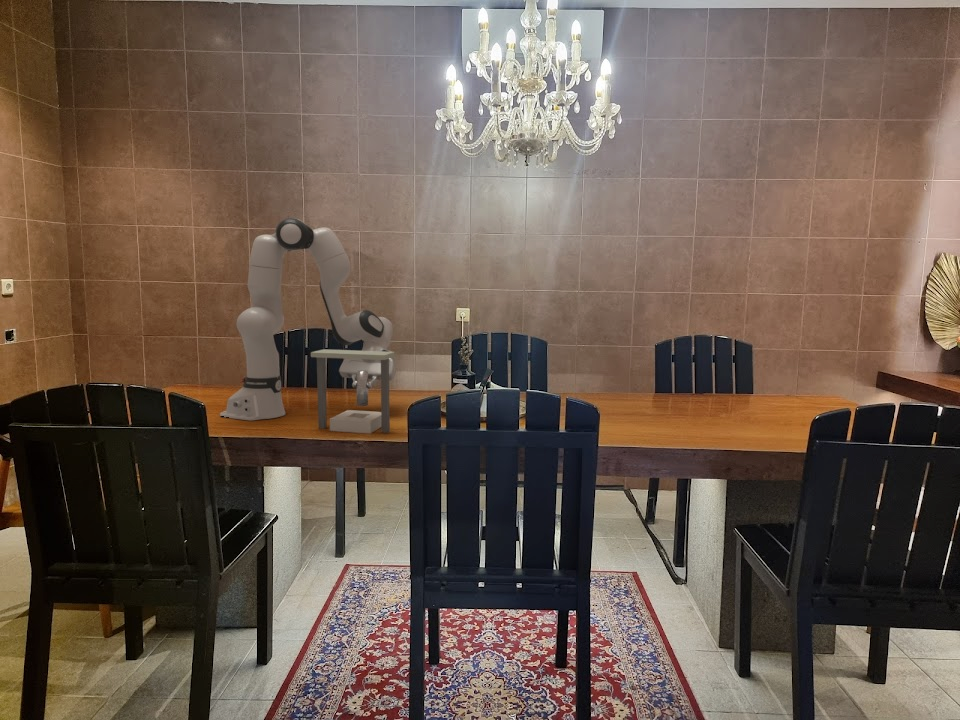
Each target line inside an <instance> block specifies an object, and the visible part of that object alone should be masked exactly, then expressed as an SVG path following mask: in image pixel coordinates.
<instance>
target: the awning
mask: <svg viewBox="0 0 960 720" xmlns="http://www.w3.org/2000/svg"><path fill="white" fill-rule="evenodd" d="M310 357H311V358H316V375H317V376H316V377H317V378H316V381H317V382H316V383H317V418H318V422H317V423H318V424H317V425H318V429H321V430H322V429H323V430H324V429H327V428H328V422H327V421H328V418H327V416H328V414H327V380H326V379H327V376H326V375H327V373H326V369H327V368H326V359H344V358H346V359H371V360H381V380H380V400H381V401H380V404H381V405H380V407H381V408H380V410H381V411H380V412H381V424H382V427H381V434H382V433H383V434H388V433H390V432H391V430H390V429H391V428H390V427H391V424H390V422H391V420H390V416H391V415H390V414H391V413H390V381H389V358H392V357H395V358H396V352H395V351H391V352H383V351H362V350H356V349H355V350H353V349H352V350H350V349H319V350H314V351H311V352H310Z"/></svg>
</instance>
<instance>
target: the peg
mask: <svg viewBox="0 0 960 720" xmlns="http://www.w3.org/2000/svg"><path fill="white" fill-rule="evenodd" d="M356 381H357V388H356V406H358V407H366V406H369V389H368V388H367V383H368V382H369V379H368V371H366V370H359V371H357V380H356Z"/></svg>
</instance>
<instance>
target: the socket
mask: <svg viewBox="0 0 960 720" xmlns="http://www.w3.org/2000/svg"><path fill="white" fill-rule="evenodd" d="M381 428H382V424H381V411H369V410H353V409H346V410H345V411H343V412H341V413H339V414H336V415H334V416H332V417H331V418H329V431H330V432H339V433H341V432H343V433H354V434H356V433H357V434H372V433H374V432H376V431H377V430H379V429H381Z"/></svg>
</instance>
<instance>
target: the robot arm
mask: <svg viewBox="0 0 960 720" xmlns="http://www.w3.org/2000/svg"><path fill="white" fill-rule="evenodd" d="M301 250H307V251H308V252H309V253H310V254H311V256H312V257H313V259H314V262H315V264H316V266H317V268H318V271H319V277H320V280H319V289H320V293H321V297H322V299H323V302H324V306H325V309H326V312H327V315H328V317H329V320H330V324H331V330H332V335H333V337H334V339H335V340H336V342H338V343H340V345H343V346H351V344H352V345H353V344H354V343H356V342H359V341H361V340H362V341H363V342H364V343H363V346H362V349H361V351H383V352H392V351H391V350H389V349H388V348H389V347H390V344H391V342H392V338H393V333H394V332H393V331H394V327H393V323H392V321H390V320H389V318H387V317H384V316H377V315H376V314H375V313H374V312H372V311H371V310H368V309H364V310H361V311H358V312H355V313H353V314H351V315H348V316H347V315H346V313H345V310H344V307H343V305H342V301H341V298H340V295H339V293H340V288H342V287H341V286H342V285H343V284H344V283H345V281H346V280H347V279H348V278H349V276H350V273H351V271H352V270H351V269H352V264H351V262H350V258H349V256H348V254H347V252H346V250H345V248H344V246H343V244H342V243H341V241H340V240H339V238H338V236H337V235H336V233H335V232H334V231H333V230H332V229H331V228H329V227H318V228H315V229H312V228H311V227H309V226H308V225H307V224H306V223H305V222H304V221H303V220H301V219H298V218H294V217H289V218H288V217H287V218H285V219H282V220H281V221H280V222H279V223H278V224H277V225H276V229H275V232H274V233H273V234H267V233H266V234H261V235H258V236H256V237H255V239H254V240H253V244H252V246H251V251H250V254H249V255H250V256H249V264H248V275H247V276H248V277H247V289H248V290H247V291H248V292H249V296H250V303H251V305H250V306H251V307H249V308H247V309H244V311H242V312H241V313H240V314H239V315H238V317H237V319H236V328H237V331H238V332H239V334H240V336H241V339H242V344H243V348H244V351H245V352H244V353H245V360H246V361H245V362H246V376H245V377H244V378H241V379H240V383H243V384H242V387H241V388H240V389H239V390H237V391H236V392H235V393H233V395H231V396H230V397H228V399H227V403H226V410H224V411H221V412H220V413H219V417H220V416H224V417H223V418H226V417H229V418H228V419H237V420H242V421H243V420H244V421H259V420H266V419H267V420H268V419H269V420H270V419H274V418H279V417H280V418H281V417H283V416H285V415H286V414H287V413H286V411H285V408H284V407H285V406H284V403H283V397H282V376H281V375H280V374H281V373H280V353H279V351H278V349H277V346H276V342H275V338H274V335H277V333H279V332H280V331H281V330H282V328H283V327H284V324H285V315H284V314H283V313H284V312H283V302H282V280H283V279H282V278H283V265H284V258H285V255H286V253H288V252H296V251H301ZM396 359H397V358H396V356H395V357H392V358H389V382H391V381H393V380H394V379H395V377H396V373H397V367H396V366H397V364H398V363H397V360H396ZM359 370H366V371H368V380H370V381H368V383H367V388H368V390H369V389H370V390H371V389H373V386H374V385H375V384H376V383H377V382H378V381H381V360H371V359H346V358H343V361H342V363H341V365H340V367H339V369H338V372H339V374H340V376H341V377H342V378H347V379H348V378H349V379H350V378H351V379H352V381H353V382H352V384H351V386H352V387H353V388H354V389H355V388H356V389H357V371H359Z"/></svg>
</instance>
